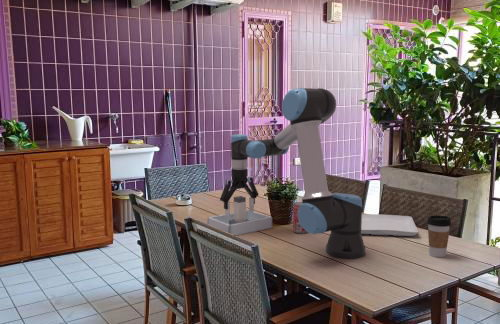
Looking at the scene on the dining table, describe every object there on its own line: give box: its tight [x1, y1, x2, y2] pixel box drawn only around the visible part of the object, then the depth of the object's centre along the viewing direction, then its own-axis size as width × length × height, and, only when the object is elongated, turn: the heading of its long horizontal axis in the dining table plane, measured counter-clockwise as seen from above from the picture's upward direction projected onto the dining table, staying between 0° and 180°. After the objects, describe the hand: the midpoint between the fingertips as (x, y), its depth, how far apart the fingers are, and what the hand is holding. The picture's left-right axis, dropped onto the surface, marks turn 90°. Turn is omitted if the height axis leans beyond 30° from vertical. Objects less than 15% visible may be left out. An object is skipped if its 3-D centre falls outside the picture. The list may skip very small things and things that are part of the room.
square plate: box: [361, 213, 419, 237], centre depth 223 cm, size 27×27×4 cm
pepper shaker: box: [233, 195, 247, 222], centre depth 225 cm, size 4×4×14 cm
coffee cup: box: [427, 215, 452, 258], centre depth 186 cm, size 8×8×15 cm
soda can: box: [292, 201, 308, 234], centre depth 218 cm, size 7×7×13 cm
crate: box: [206, 209, 273, 236], centre depth 226 cm, size 18×24×5 cm
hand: (239, 213), depth 225 cm, fingers open, 13 cm apart
